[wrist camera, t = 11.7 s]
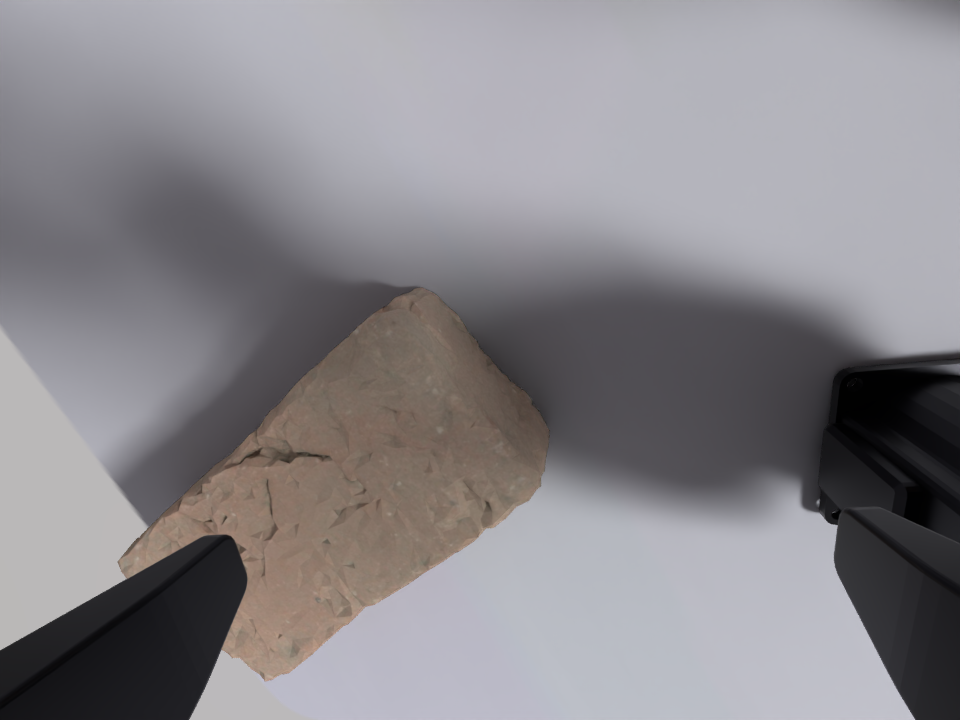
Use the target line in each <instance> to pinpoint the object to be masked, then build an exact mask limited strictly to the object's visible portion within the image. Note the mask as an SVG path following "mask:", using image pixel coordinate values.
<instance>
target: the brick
mask: <svg viewBox="0 0 960 720" xmlns="http://www.w3.org/2000/svg"><path fill="white" fill-rule="evenodd" d="M478 345H479V344H478V342H477V341H476V340H475V339H474V338H473V337H472V336H471V335H470V334H469V333H468V331H467V329H466V327H465V325H464V323H463V322H462V320H461V319H460V318H459V316H458V315H457V314H456V313H455V312H454V311H453V310H452V309H450V308H449V307H448V306H447V305H446V304H445V303H444V302H443V301H442V300H441V299H440V298H439V297H438V296H437V295H436V294H434V293H432V292H430V291H428V290H426V289H424V288H415V289H414V290H412V291H411V292H409V293H406V294H402V295H401V296H397V297H395V298H394V299H393V300H392V301H391V302H390V303H389V304H388V306H386V307H383V308H381V309H380V310H378V311H376V312H375V313H373V314H372V315H371V316H370V317H368V318H367V319H366V320H365V321H364V322H363V323H362V324H360V325H359V326H358V327H356V330H354V331H353V332H352V333H351V334H350V335H349V336H348V337H347V338H346V339H345V340H343V341H342V342H341V343H340V344H339V345H338V346H336V347H335V348H334V349H333V350H332V351H331V352H330V353H329V354H328V355H327V356H326V357H325V358H324V359H323V360H322V361H321V362H320V363H319V364H317V365H316V366H315V367H314V368H313V369H311V370H310V371H309V372H308V373H307V374H306V375H305V376H303V377H302V378H301V379H300V380H299V381H298V382H297V383H296V385H295V386H294V387H293V388H292V389H291V390H290V391H289V392H288V394H287V395H286V396H285V397H284V398H283V400H282V401H281V402H280V403H279V404H278V405H277V406H276V407H275V408H273V409H272V410H271V411H270V412H269V413H268V414H267V416H266V417H265V419H264V420H263V422H262V423H261V425H260V427H259V428H258V429H257V430H255V431H254V432H253V433H251V434H250V435H249V436H248V437H247V438H246V439H245V440H244V442H243V443H242V444H240V445H239V446H238V447H237V448H236V449H235V450H234V451H233V453H232V454H230V455H229V456H228V457H226V458H225V459H223V460H222V461H220V462H219V463H217V464H216V465H215V466H214V467H213V468H212V469H210V470H209V471H208V472H207V473H206V474H205V475H204V476H203V477H202V478H201V479H199V480H198V481H197V482H196V483H195V484H194V485H193V486H192V487H191V488H190V489H189V490H188V491H187V492H186V493H185V494H184V495H183V496H182V497H181V498H179V499H178V500H177V501H176V502H175V503H174V504H173V505H172V506H171V507H170V508H169V509H167V510H166V511H165V512H164V513H163V514H162V515H161V516H160V517H159V518H158V519H157V520H156V521H155V522H154V523H153V524H152V525H151V526H150V527H149V528H148V529H147V530H146V531H145V532H144V533H143V534H142V535H141V536H140V538H137V539H136V540H135V541H134V542H133V544H132V545H131V546H130V547H129V548H128V550H127V551H126V552H125V553H124V554H123V556H122V557H121V558H120V559H119V561H118V564H119V567H120V569H121V572H122V573H123V574H124V575H125V577H126V578H127V579H128V578H130V577H131V576H133V575H135V574H137V573H138V572H140V571H142V570H144V569H145V568H147V567H149V566H151V565H153V564H154V563H156V562H158V561H160V560H161V559H163V558H165V557H167V556H169V555H170V554H172V553H174V552H176V551H177V550H179V549H181V548H183V547H184V546H186V545H188V544H190V543H192V542H193V541H195V540H197V539H199V538H201V537H203V536H206V535H221V534H227V535H230V536H231V537H232V538H233V539H234V540H235V542H236V545H237V547H238V550H239V553H240V555H241V558H242V561H243V564H244V566H245V569H246V572H247V578H248V581H247V588H246V591H245V594H244V596H243V599H242V601H241V604H240V606H239V608H238V611H237V613H236V616H235V618H234V620H233V623H232V625H231V628H230V630H229V632H228V635H227V637H226V640H225V642H224V645H223V647H222V649H221V650H223V651H225V652H226V653H228V654H229V655H230V656H231V657H232V658H240V659H242V660H243V661H244V662H245V663H246V664H247V665H248V666H249V667H250V668H251V669H252V670H254V671H255V672H257V673H258V674H260V675H261V677H262V678H263V679H264V681H269V680H272V679H274V678H275V677H277V676H279V675H281V674H287V673H290V672H291V671H292V670H293V669H295V668H296V667H297V666H298V665H300V664H301V663H302V662H303V661H304V660H306V659H307V658H308V657H309V656H311V655H312V654H313V653H314V652H315V651H316V650H317V649H318V648H319V647H320V646H322V645H323V644H324V643H325V642H326V641H327V640H328V639H330V638H331V637H332V636H333V635H334V634H335V633H336V632H337V631H339V630H340V629H341V628H342V627H343V626H345V625H347V624H349V623H350V622H351V621H352V620H353V619H354V618H355V617H356V616H357V615H358V614H359V613H360V612H361V611H362V610H363V609H364V608H365V607H366V606H371V605H375V604H376V603H378V602H380V601H381V600H383V599H384V598H386V597H388V596H390V595H391V594H393V593H395V592H396V591H398V590H400V589H401V588H403V587H404V586H406V585H408V584H409V583H411V582H412V581H414V580H415V579H416V578H418V577H419V576H420V575H422V574H423V573H425V572H427V571H428V570H430V569H432V568H433V567H435V566H436V565H438V564H440V563H441V562H443V561H444V560H446V559H447V558H449V557H450V556H452V555H453V554H454V553H456V552H458V551H460V550H462V549H463V548H465V547H466V546H468V545H469V544H471V543H472V542H474V541H475V540H476V539H477V538H478V537H479V536H480V535H481V534H482V532H483V531H484V530H485V529H486V528H494V527H495V526H496V525H498V524H499V523H500V522H502V521H503V520H504V519H506V518H507V516H508V515H509V514H510V513H511V512H512V511H513V510H514V509H515V508H516V507H517V506H519V505H521V504H523V503H525V502H527V501H529V500H530V498H531V497H532V495H533V494H534V493H535V491H536V490H537V489H538V488H539V487H540V486H541V476H542V474H543V473H544V471H545V461H546V455H547V450H548V445H549V437H550V436H549V429H548V428H547V425H546V423H545V422H544V420H543V418H542V416H541V415H540V413H539V411H538V409H536V408H535V407H534V406H533V405H532V400H531V398H530V397H529V396H528V394H527V393H526V392H525V391H524V390H522V389H521V388H519V387H517V386H516V385H515V383H513V382H510V380H509V379H508V377H507V376H506V375H504V374H502V373H501V371H500V370H499V369H498V368H497V367H496V365H495V364H494V363H493V362H492V360H491V359H490V357H489V356H488V355H486V354H484V351H483V350H481V349H480V348H479V346H478Z"/></svg>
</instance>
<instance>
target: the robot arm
mask: <svg viewBox="0 0 960 720" xmlns="http://www.w3.org/2000/svg"><path fill="white" fill-rule="evenodd" d="M855 378H856V382H855V384H854V385H852V386H850V387H847V385H848V382H849V381H850V380H852V379H855ZM818 485H819V487H820V488H821V496H820V505H819V511H820V513H821V515H822V516H823V517H824V518H825V520H826V521H827V522H828V523H830V524H834V525H838V528H837V535H836V543H835V551H834V563H835V568H836V571H837V574H838V576H839V578H840V580H841V582H842V584H843V586H844V588H845V590H846V592H847V594H848V596H849V598H850V599H851V601H852V603H853V605H854V607H855V609H856V611H857V613H858V615H859V617H860V619H861V621H862V623H863V625H864V627H865V629H866V631H867V633H868V635H869V637H870V639H871V640H872V642H873V644H874V646H875V648H876V650H877V652H878V654H879V656H880V658H881V660H882V662H883V664H884V666H885V668H886V670H887V672H888V674H889V675H890V677H891V679H892V681H893V683H894V685H895V686H896V688H897V690H898V692H899V694H900V695H901V697H902V699H903V700H904V702H905V704H906V705H907V707H908V708H909V710H910V712H911V713H912V715H913V717H914V718H915V720H960V359H953V360H940V361H928V362H915V363H902V364H890V365H877V366H865V367H852V368H847V369H843V370H842V371H840V372H839V373H838V374H837V375H836V376H835V378H834V381H833V390H832V398H831V407H830V416H829V424H828V425H827V427H826V428H825V429H824V434H823V443H822V452H821V461H820V470H819V479H818ZM836 509H839V510H838V511H837V512H836V513H832V512H833V511H834V510H836ZM247 581H248V578H247V572H246V569H245V566H244V564H243V561H242V558H241V555H240V553H239V550H238V547H237V545H236V542H235V540H234V539H233V538H232V537H231V536H230V535H227V534H221V535H206V536H203V537H201V538H199V539H197V540H195V541H193V542H192V543H190V544H188V545H186V546H184V547H183V548H181V549H179V550H177V551H176V552H174V553H172V554H170V555H169V556H167V557H165V558H163V559H161V560H160V561H158V562H156V563H154V564H153V565H151V566H149V567H147V568H145V569H144V570H142V571H140V572H138V573H137V574H135V575H133V576H131V577H130V578H128V579H126V580H124V581H122V582H121V583H119V584H117V585H115V586H114V587H112V588H110V589H109V590H106V591H105V592H103V593H101V594H100V595H98V596H96V597H94V598H92V599H91V600H89V601H87V602H85V603H83V604H82V605H80V606H78V607H76V608H75V609H73V610H71V611H69V612H68V613H66V614H64V615H62V616H60V617H59V618H57V619H55V620H53V621H52V622H50V623H48V624H46V625H45V626H43V627H41V628H39V629H38V630H36V631H34V632H32V633H30V634H28V635H27V636H25V637H23V638H21V639H20V640H18V641H16V642H14V643H13V644H11V645H9V646H7V647H5V648H4V649H2V650H0V720H189V719H190V717H191V715H192V713H193V711H194V709H195V707H196V705H197V703H198V701H199V699H200V697H201V695H202V693H203V691H204V689H205V687H206V684H207V682H208V680H209V678H210V676H211V673H212V671H213V669H214V666H215V664H216V661H217V659H218V656H219V654H220V651H221V649H222V647H223V645H224V642H225V640H226V637H227V635H228V632H229V630H230V628H231V625H232V623H233V620H234V618H235V616H236V613H237V611H238V608H239V606H240V604H241V601H242V599H243V596H244V594H245V591H246V588H247Z"/></svg>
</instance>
